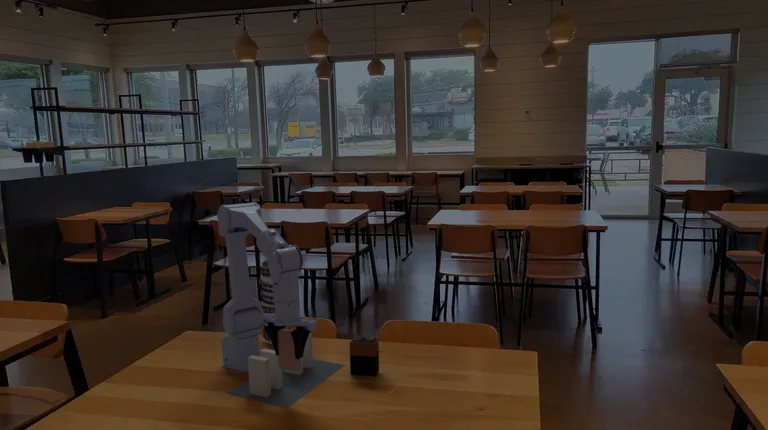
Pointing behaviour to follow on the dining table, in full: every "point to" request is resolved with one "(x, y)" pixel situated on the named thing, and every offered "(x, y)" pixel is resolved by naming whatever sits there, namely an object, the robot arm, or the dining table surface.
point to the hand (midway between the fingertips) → (289, 355)
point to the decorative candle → (267, 296)
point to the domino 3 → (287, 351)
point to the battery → (364, 356)
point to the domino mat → (292, 384)
